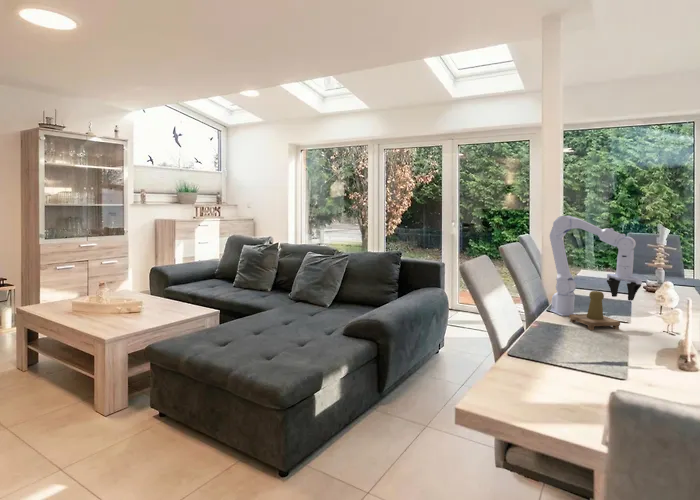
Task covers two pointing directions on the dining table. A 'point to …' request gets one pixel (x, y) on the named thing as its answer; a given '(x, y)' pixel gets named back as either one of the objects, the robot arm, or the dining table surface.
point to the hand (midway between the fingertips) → (622, 298)
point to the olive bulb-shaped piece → (595, 305)
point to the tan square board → (594, 321)
